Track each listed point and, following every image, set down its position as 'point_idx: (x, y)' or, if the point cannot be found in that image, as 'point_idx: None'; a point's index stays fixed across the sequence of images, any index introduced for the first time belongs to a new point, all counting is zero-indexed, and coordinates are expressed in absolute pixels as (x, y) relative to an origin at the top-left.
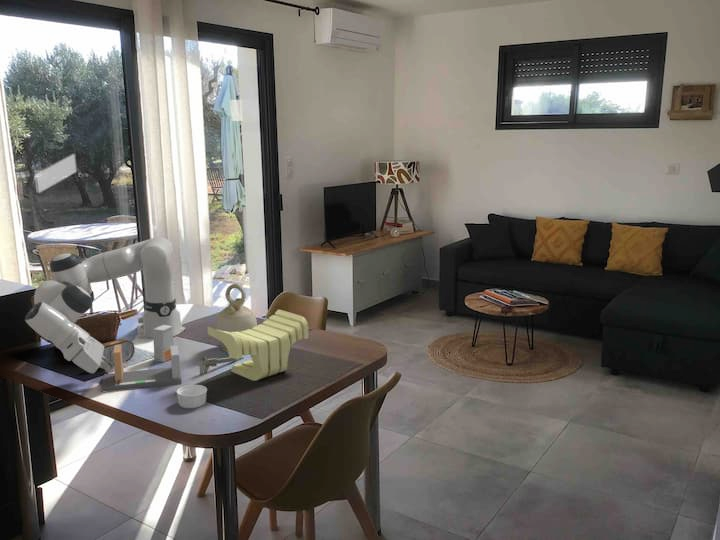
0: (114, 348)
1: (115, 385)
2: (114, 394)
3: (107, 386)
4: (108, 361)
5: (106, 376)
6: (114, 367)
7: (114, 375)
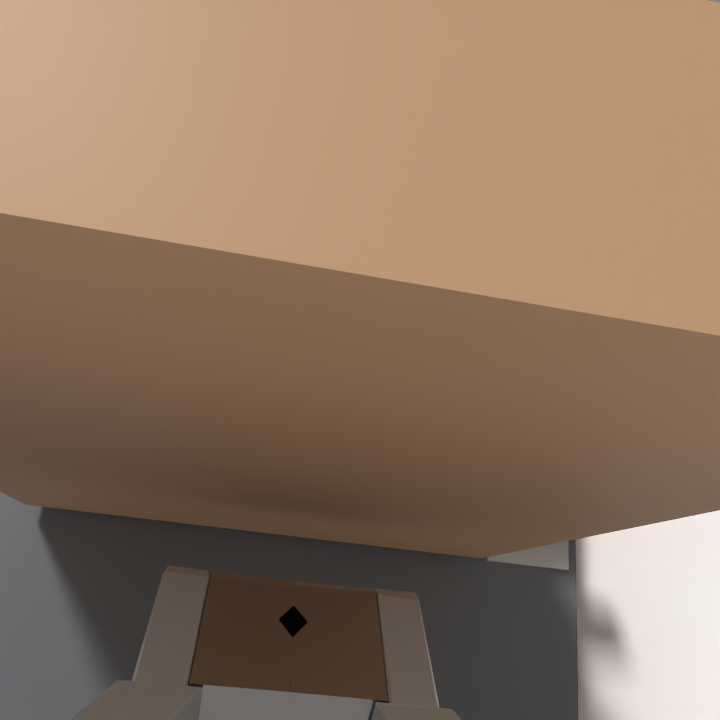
0: (324, 240)
1: (569, 567)
2: (681, 599)
3: (569, 703)
4: (116, 687)
5: (17, 715)
6: (635, 526)
7: (46, 554)
